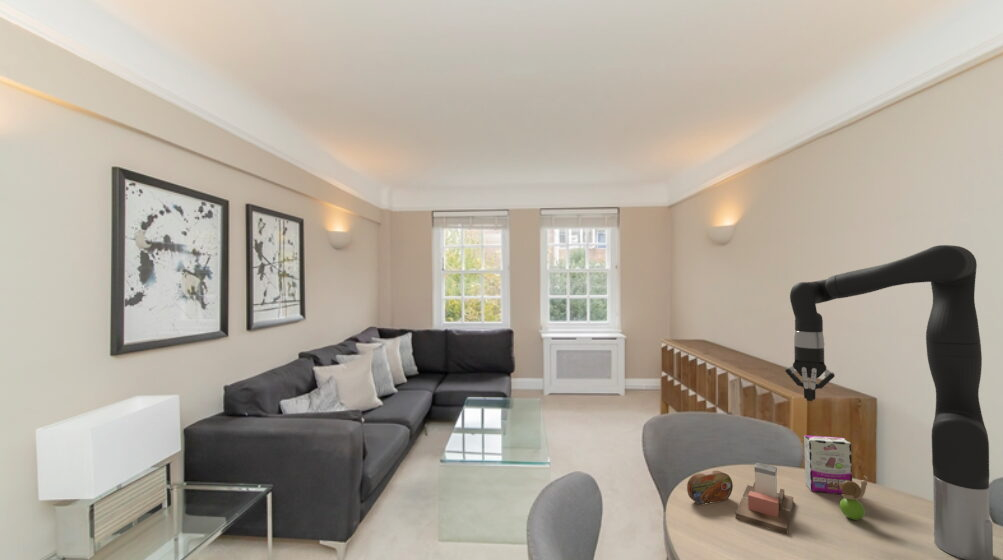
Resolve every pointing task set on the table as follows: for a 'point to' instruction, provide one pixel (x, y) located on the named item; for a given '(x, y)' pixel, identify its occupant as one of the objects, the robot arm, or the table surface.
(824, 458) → the candy bar box
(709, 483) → the tin
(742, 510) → the wooden holder base
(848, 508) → the snail figurine
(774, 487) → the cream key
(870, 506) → the table surface
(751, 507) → the pad
